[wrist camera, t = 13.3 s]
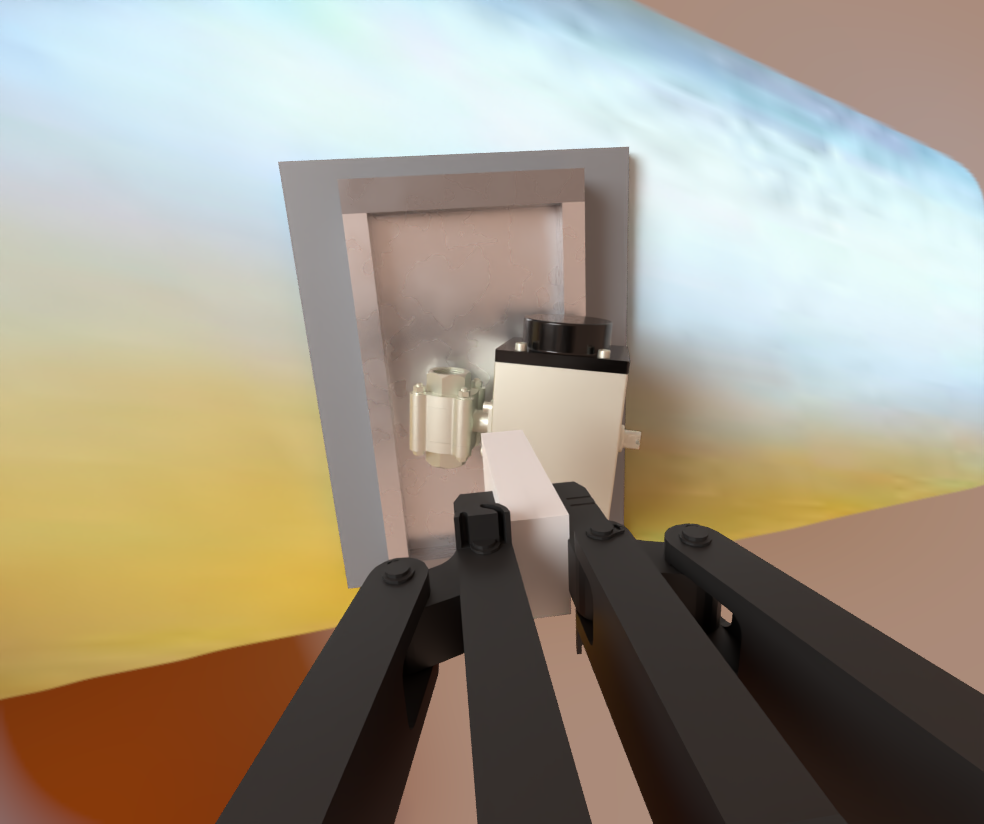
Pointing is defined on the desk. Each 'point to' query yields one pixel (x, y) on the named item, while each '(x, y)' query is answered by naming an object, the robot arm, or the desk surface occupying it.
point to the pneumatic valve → (536, 403)
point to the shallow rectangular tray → (450, 310)
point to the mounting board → (335, 319)
